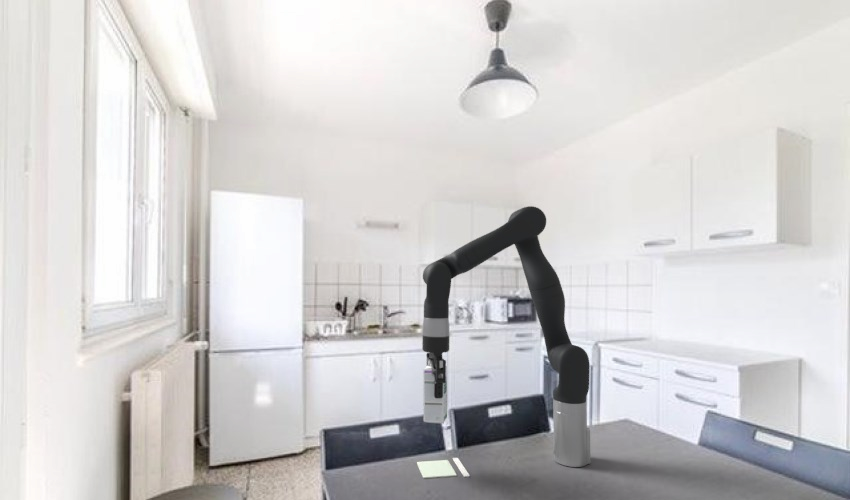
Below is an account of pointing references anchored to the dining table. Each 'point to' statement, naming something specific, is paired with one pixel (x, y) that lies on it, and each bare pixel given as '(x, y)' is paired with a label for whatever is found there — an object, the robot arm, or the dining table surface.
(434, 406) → the syrup box
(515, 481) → the dining table surface
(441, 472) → the mat
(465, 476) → the white line strip
